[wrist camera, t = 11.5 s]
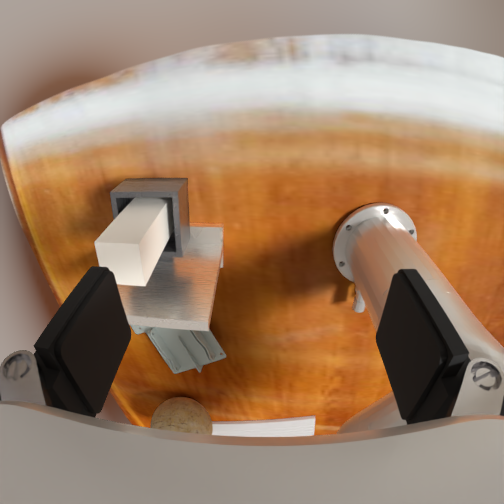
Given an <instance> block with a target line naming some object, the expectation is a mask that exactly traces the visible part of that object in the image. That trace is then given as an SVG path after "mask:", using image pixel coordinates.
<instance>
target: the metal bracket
mask: <svg viewBox="0 0 504 504" xmlns="http://www.w3.org/2000/svg"><path fill="white" fill-rule="evenodd" d="M130 326H131V327H132V329H133V330H134V332H135V333H136V334H141V333H143V332H146V333H147V335H148V337H149V338H150V340H151V341H152V343H153V344H154V346H155V347H156V348H157V350H158V351H159V353H160V354H161V356H162V357H163V359H164V360H165V362H166V363H167V364H168V366H169V367H170V369H171V370H172V371H173V373H174V374H177V373H180V372H183V371H187V370H190V369H193V368H197V370H198V372H199V373H200V372H201V370H202V367H203V365H205V364H209V363H212V362H215V361H218V360H221V359H223V358H226V354H225V352H224V351H223V349H222V348H221V346H220V345H219V343H218V341H217V340H216V338H215V337H214V335H213V334H212V332H211V330H210V329H209V331H198V330H184V329H172V328H160V327H150V326H140V325H130ZM140 328H141V329H140ZM220 353H223V355H221V354H220Z"/></svg>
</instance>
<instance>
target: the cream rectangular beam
mask: <svg viewBox="0 0 504 504" xmlns="http://www.w3.org/2000/svg"><path fill="white" fill-rule="evenodd" d="M173 230H174V217H173V201H172V197H135V198H134V199H133V200H132V201H131V202H130V203H129V204H128V205H127V206H126V207H125V209H124V210H123V211H122V212H121V213H120V214H119V215H118V216H117V217H116V218H115V219H114V220H113V222H112V223H111V224H110V225H109V226H108V227H107V228H106V229H105V230H104V232H103V233H102V234H101V235H100V236H99V237H98V238H97V240H96V241H95V242H94V243H95V248H96V253H97V257H98V262H99V266H100V267H107V268H108V269H109V270H110V271H112V272H113V273H114V276H115V280H116V283H117V284H121V285H133V286H146V284H147V282H148V280H149V278H150V276H151V274H152V272H153V270H154V268H155V266H156V264H157V262H158V260H159V258H160V256H161V254H162V252H163V250H164V248H165V246H166V244H167V242H168V240H169V238H170V236H171V234H172V232H173Z"/></svg>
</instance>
